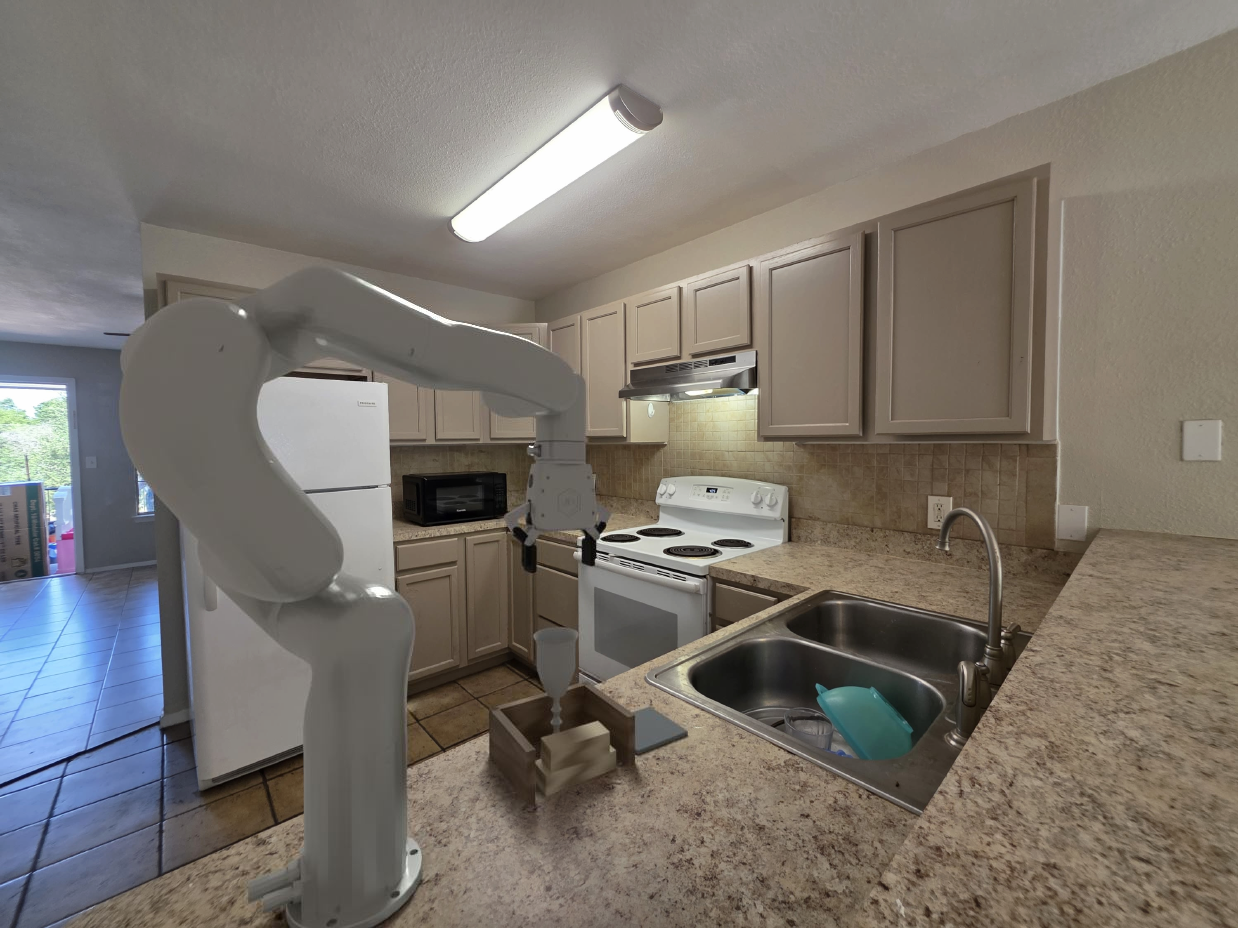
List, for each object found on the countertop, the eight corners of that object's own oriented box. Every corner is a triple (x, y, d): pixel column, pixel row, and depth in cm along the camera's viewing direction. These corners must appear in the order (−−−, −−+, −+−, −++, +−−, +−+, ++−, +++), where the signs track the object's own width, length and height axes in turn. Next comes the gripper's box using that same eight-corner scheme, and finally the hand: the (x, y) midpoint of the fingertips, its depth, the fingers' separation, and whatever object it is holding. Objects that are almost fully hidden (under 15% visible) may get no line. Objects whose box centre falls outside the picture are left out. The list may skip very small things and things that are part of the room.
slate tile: (637, 754, 76) (637, 750, 76) (602, 725, 85) (602, 722, 85) (687, 734, 82) (687, 730, 82) (650, 709, 90) (650, 706, 90)
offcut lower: (546, 798, 67) (546, 776, 67) (533, 782, 70) (533, 761, 70) (616, 770, 73) (616, 750, 73) (601, 757, 76) (601, 737, 76)
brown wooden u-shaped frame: (526, 806, 65) (526, 752, 65) (489, 754, 77) (489, 708, 77) (635, 762, 74) (635, 714, 74) (586, 722, 86) (586, 680, 86)
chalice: (582, 764, 74) (582, 641, 74) (535, 771, 72) (535, 645, 72) (575, 738, 81) (575, 625, 81) (532, 743, 80) (531, 628, 79)
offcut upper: (551, 772, 68) (550, 750, 68) (541, 759, 71) (540, 737, 71) (609, 752, 72) (609, 731, 72) (598, 740, 76) (597, 720, 76)
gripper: (515, 453, 69) (514, 579, 69) (622, 455, 78) (621, 566, 78) (496, 454, 75) (495, 569, 75) (597, 456, 85) (597, 559, 84)
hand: (560, 568), depth 77 cm, fingers open, 9 cm apart
